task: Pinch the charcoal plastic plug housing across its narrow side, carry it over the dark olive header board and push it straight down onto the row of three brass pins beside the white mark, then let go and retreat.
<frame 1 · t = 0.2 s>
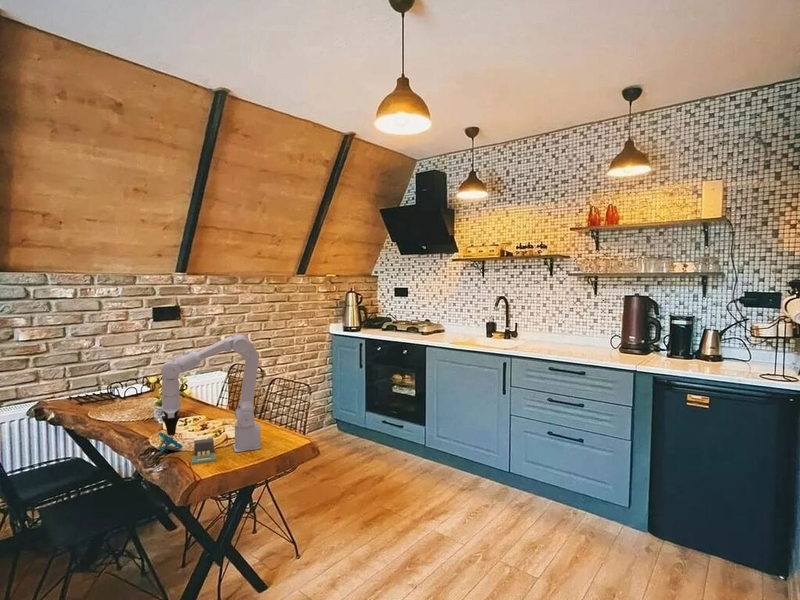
hand: (171, 431, 167), 10 cm above the table, fingers open, 7 cm apart
plug housing: (204, 452, 173), on the table
header board: (203, 459, 167), on the table
teal plastic t-shaped piece: (169, 450, 175), on the table
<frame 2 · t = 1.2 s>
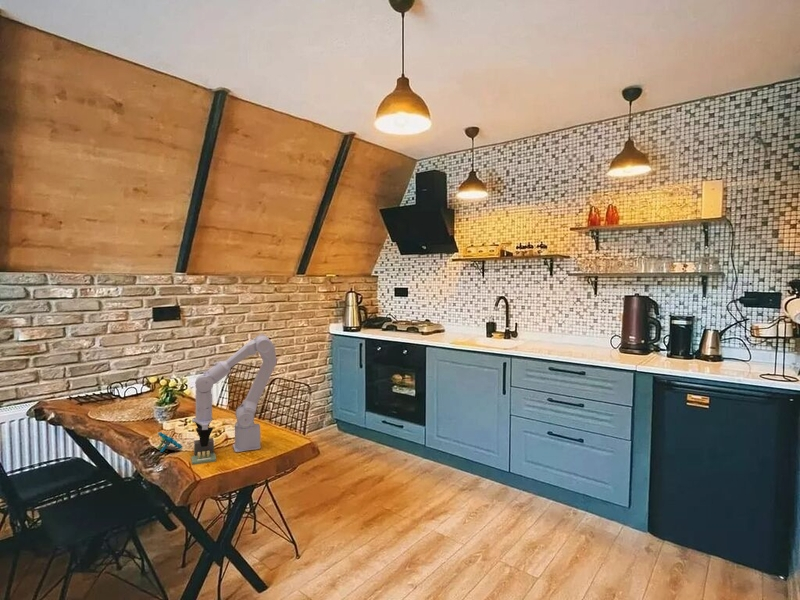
hand: (203, 442, 173), 4 cm above the table, fingers open, 7 cm apart
nothing on the table moved.
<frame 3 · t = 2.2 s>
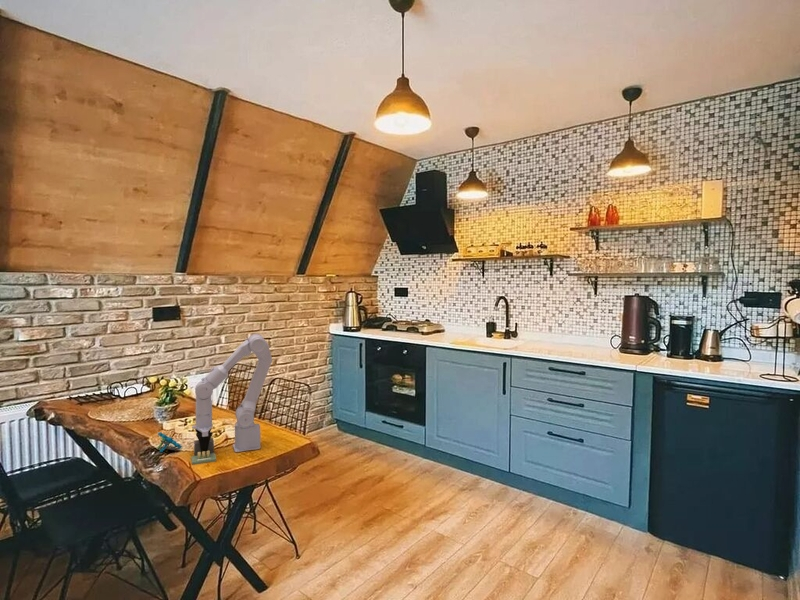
hand: (203, 449, 173), 1 cm above the table, fingers closed on plug housing, 4 cm apart
plug housing: (203, 452, 173), on the table, touching gripper
everything else where it was.
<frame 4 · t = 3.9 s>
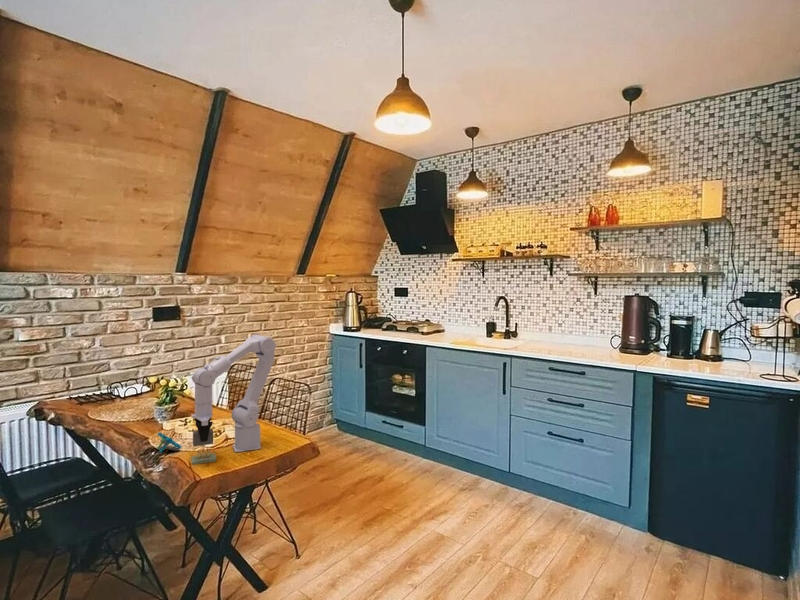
hand: (203, 439, 166), 8 cm above the table, fingers closed on plug housing, 4 cm apart
plug housing: (203, 443, 166), point 6 cm above the table, touching gripper
everything else where it was.
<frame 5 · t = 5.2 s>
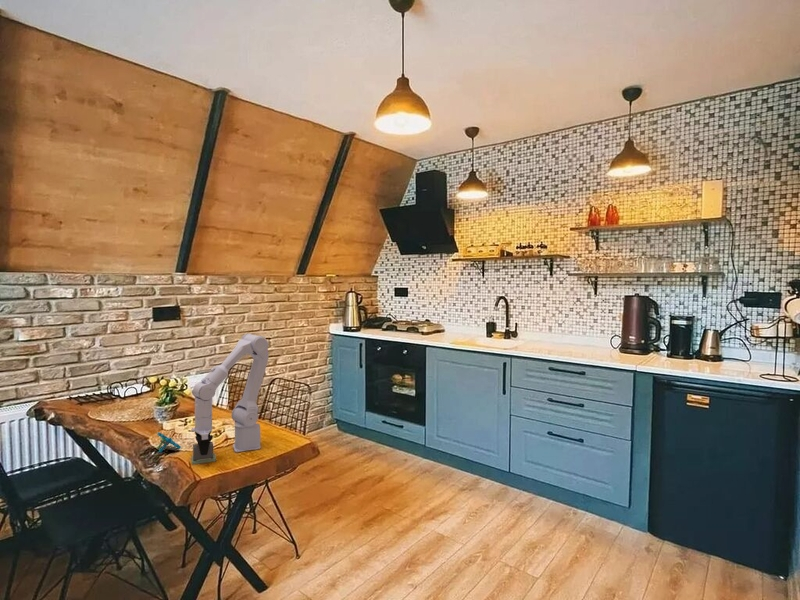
hand: (203, 452, 167), 3 cm above the table, fingers closed on plug housing, 4 cm apart
plug housing: (203, 456, 167), point 1 cm above the table, touching gripper
everything else where it was.
when the fingers open (3 cm above the table, at t = 6.0 s): plug housing stays where it is, resting on header board.
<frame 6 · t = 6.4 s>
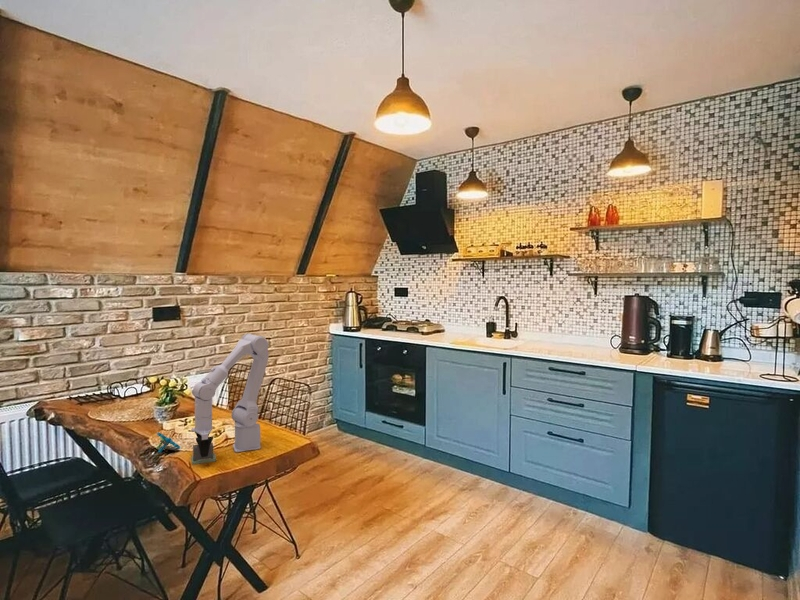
hand: (203, 452, 167), 3 cm above the table, fingers open, 7 cm apart
plug housing: (203, 457, 167), point 1 cm above the table, touching header board
everything else where it was.
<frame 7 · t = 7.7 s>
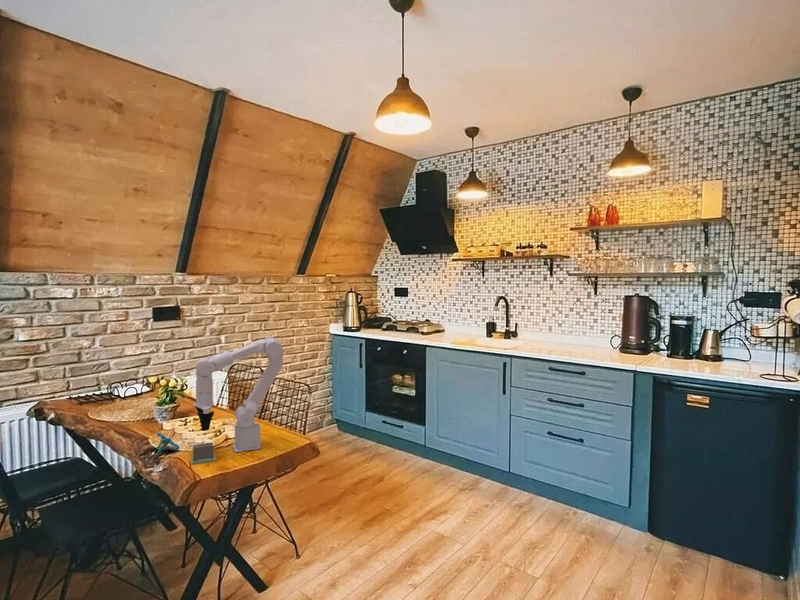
hand: (204, 427, 172), 10 cm above the table, fingers open, 7 cm apart
nothing on the table moved.
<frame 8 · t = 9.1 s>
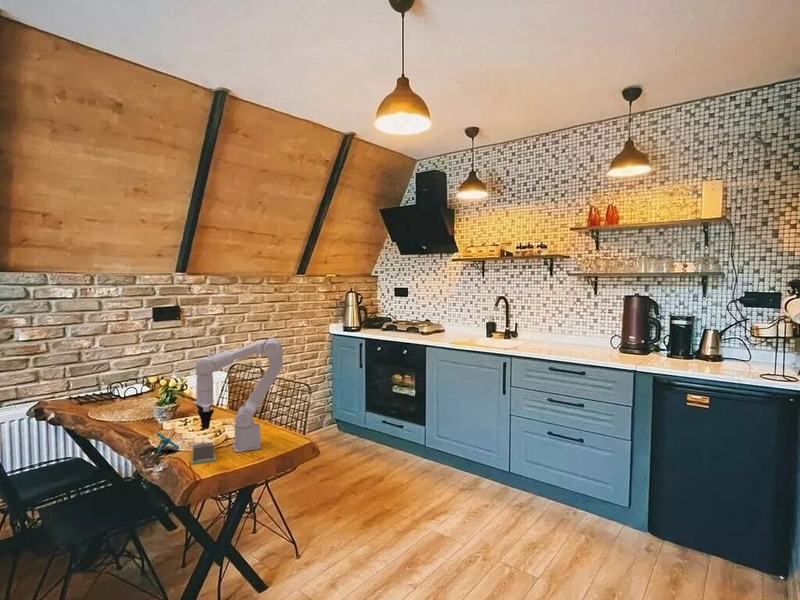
hand: (205, 424, 175), 10 cm above the table, fingers open, 7 cm apart
nothing on the table moved.
at the end: plug housing 0.2 cm off-centre on the header board, point 0.9 cm above the header board's base; plug housing tilted 2°; the gripper is holding nothing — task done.
